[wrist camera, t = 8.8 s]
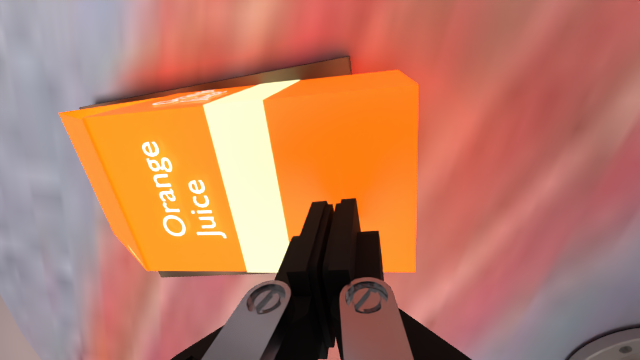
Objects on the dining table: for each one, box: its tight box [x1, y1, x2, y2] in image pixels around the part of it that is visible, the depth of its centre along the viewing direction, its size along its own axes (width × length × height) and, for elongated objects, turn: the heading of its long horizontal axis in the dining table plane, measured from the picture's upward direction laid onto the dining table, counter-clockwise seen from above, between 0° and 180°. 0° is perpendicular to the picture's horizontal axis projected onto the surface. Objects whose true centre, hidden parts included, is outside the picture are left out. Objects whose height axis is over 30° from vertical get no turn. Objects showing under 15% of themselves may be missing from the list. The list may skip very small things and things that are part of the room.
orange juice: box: [59, 70, 419, 273], centre depth 18 cm, size 8×9×20 cm
